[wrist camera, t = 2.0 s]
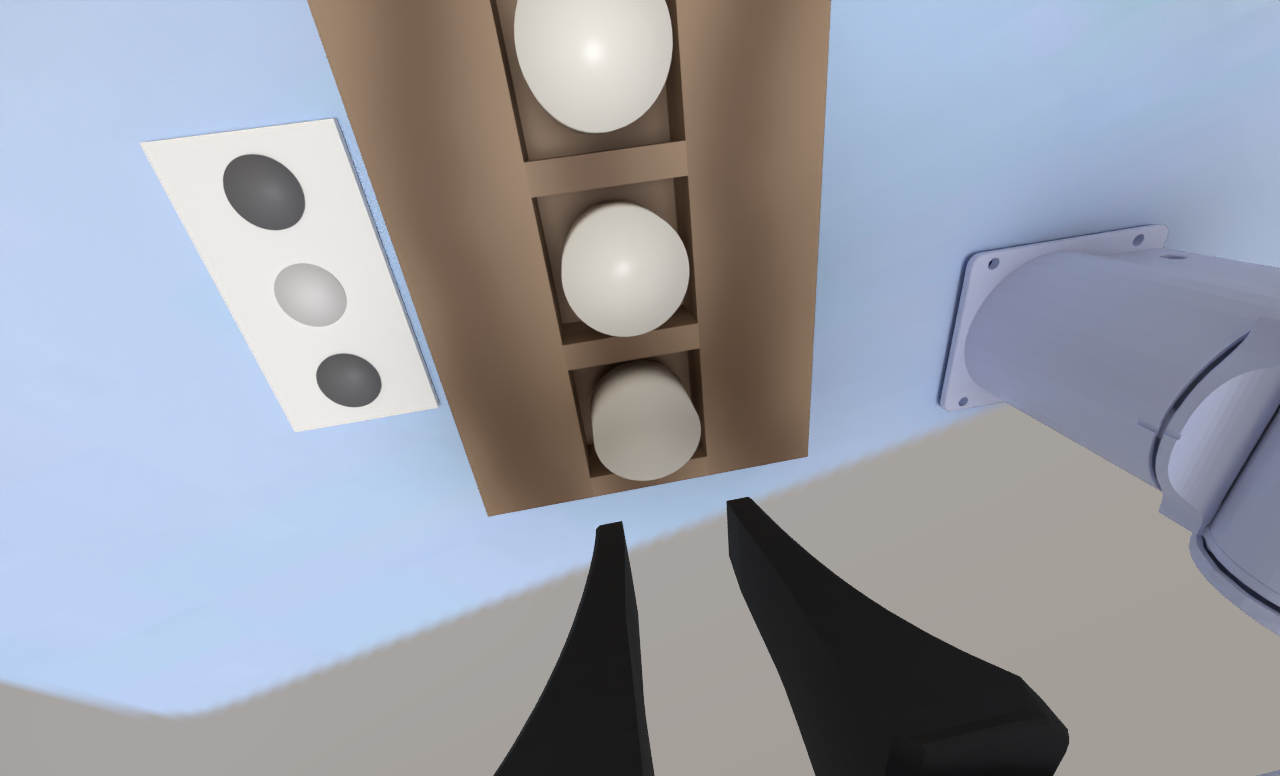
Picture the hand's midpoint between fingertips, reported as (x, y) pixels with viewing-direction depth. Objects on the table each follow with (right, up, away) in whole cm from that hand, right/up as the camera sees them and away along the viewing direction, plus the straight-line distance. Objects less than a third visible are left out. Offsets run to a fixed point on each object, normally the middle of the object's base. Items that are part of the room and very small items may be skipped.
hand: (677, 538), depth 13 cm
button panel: (-2, +10, +6) cm, 12 cm away
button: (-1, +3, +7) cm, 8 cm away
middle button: (-2, +9, +4) cm, 10 cm away
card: (-13, +8, +5) cm, 16 cm away
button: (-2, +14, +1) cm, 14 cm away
